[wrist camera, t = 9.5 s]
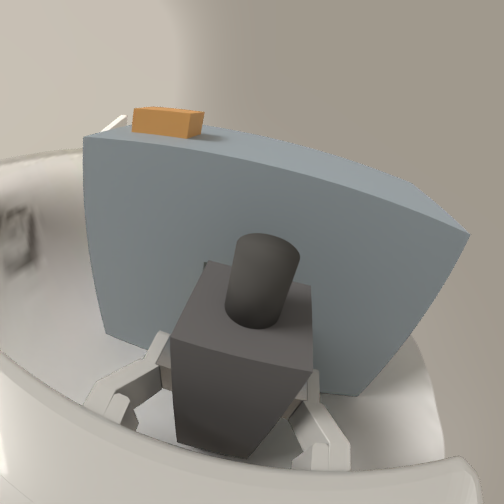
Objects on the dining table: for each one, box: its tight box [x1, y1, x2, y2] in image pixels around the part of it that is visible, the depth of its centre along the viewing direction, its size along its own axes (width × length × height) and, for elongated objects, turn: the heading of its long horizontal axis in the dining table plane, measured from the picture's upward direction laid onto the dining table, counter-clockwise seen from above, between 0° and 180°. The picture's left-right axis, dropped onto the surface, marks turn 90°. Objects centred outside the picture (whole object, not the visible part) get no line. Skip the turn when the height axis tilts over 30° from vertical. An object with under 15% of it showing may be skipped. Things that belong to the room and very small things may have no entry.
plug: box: [170, 233, 313, 459], centre depth 11 cm, size 8×4×11 cm, turn 171°
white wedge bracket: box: [101, 115, 127, 132], centre depth 43 cm, size 4×10×9 cm, turn 153°
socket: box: [83, 107, 470, 396], centre depth 16 cm, size 8×18×14 cm, turn 81°
